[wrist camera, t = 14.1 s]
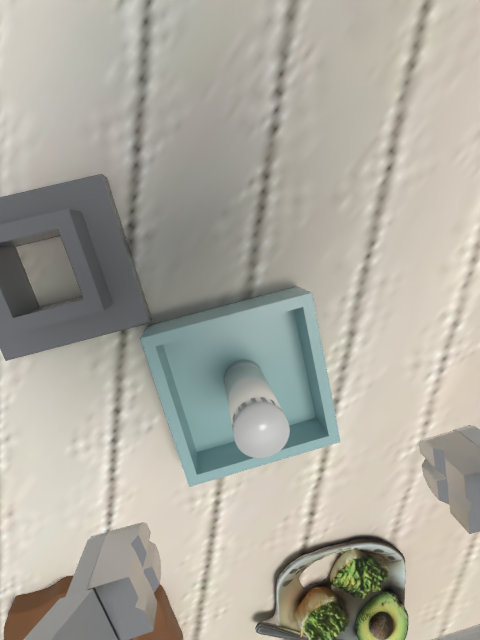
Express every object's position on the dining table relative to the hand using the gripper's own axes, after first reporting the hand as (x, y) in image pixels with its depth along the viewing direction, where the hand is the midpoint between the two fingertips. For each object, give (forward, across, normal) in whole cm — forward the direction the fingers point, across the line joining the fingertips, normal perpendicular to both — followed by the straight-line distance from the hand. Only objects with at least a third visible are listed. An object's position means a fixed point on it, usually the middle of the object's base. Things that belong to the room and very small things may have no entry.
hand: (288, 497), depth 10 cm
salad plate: (+24, -5, +39) cm, 46 cm away
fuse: (+23, 0, +6) cm, 24 cm away
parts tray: (+24, 0, +7) cm, 25 cm away
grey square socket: (+24, +14, -8) cm, 29 cm away
